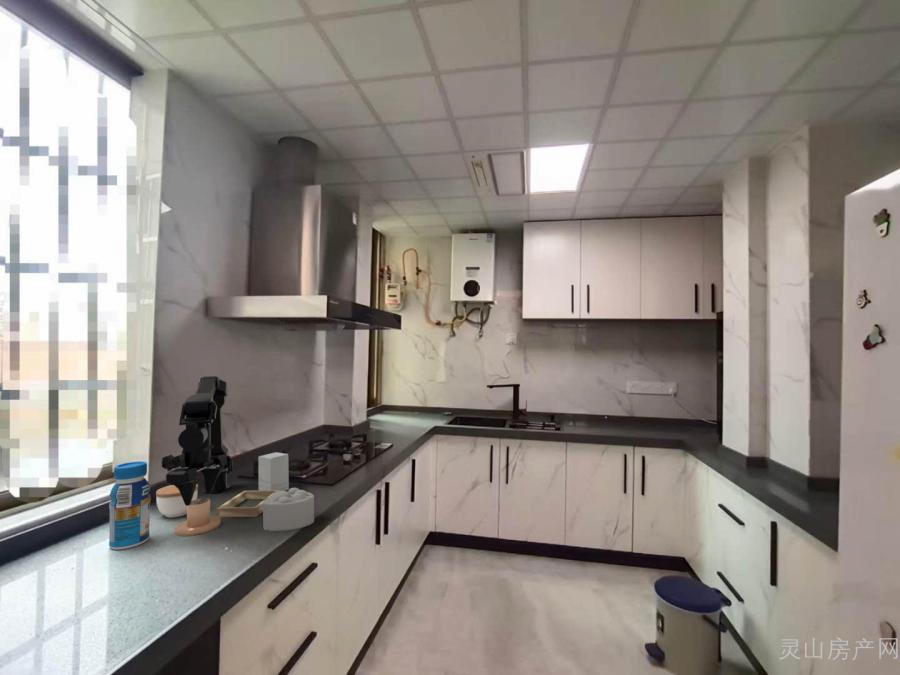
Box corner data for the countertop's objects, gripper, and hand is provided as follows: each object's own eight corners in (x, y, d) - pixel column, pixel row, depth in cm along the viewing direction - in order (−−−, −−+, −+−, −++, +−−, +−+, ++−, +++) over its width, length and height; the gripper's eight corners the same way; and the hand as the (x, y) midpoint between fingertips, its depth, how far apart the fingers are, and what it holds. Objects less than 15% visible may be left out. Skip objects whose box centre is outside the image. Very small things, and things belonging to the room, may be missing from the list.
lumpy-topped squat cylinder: (274, 516, 120) (274, 486, 120) (318, 514, 121) (318, 485, 121) (259, 531, 110) (259, 499, 110) (308, 529, 110) (307, 497, 111)
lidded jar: (148, 517, 122) (148, 485, 122) (185, 505, 131) (185, 475, 131) (168, 523, 117) (168, 490, 117) (205, 510, 126) (205, 479, 126)
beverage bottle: (100, 547, 102) (101, 467, 103) (136, 534, 110) (138, 459, 111) (121, 553, 99) (123, 470, 100) (157, 538, 107) (158, 461, 107)
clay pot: (194, 519, 116) (195, 498, 116) (214, 519, 116) (214, 497, 116) (182, 527, 111) (182, 505, 111) (202, 527, 111) (202, 504, 111)
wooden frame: (243, 498, 136) (243, 490, 136) (279, 497, 136) (279, 490, 136) (216, 517, 120) (216, 508, 120) (256, 516, 120) (256, 507, 120)
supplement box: (289, 489, 144) (289, 453, 145) (270, 496, 138) (270, 458, 139) (276, 486, 148) (276, 451, 149) (257, 492, 142) (257, 456, 143)
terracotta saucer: (191, 519, 119) (191, 516, 119) (228, 519, 119) (228, 515, 119) (164, 536, 108) (164, 532, 108) (206, 535, 108) (206, 531, 108)
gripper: (191, 437, 124) (190, 489, 123) (145, 451, 105) (144, 512, 104) (227, 436, 123) (227, 488, 123) (188, 450, 105) (187, 511, 104)
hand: (198, 499), depth 113 cm, fingers open, 9 cm apart
